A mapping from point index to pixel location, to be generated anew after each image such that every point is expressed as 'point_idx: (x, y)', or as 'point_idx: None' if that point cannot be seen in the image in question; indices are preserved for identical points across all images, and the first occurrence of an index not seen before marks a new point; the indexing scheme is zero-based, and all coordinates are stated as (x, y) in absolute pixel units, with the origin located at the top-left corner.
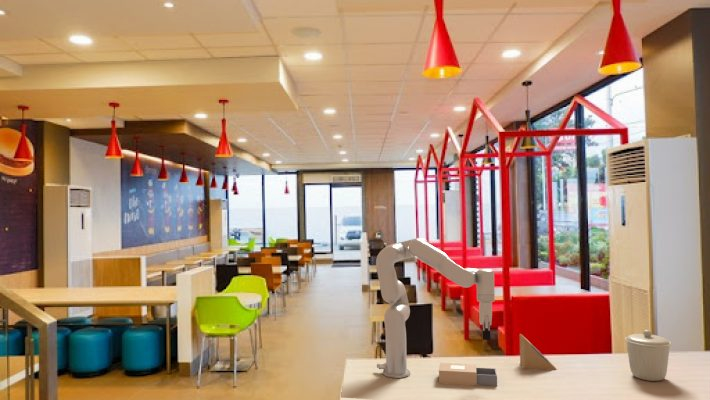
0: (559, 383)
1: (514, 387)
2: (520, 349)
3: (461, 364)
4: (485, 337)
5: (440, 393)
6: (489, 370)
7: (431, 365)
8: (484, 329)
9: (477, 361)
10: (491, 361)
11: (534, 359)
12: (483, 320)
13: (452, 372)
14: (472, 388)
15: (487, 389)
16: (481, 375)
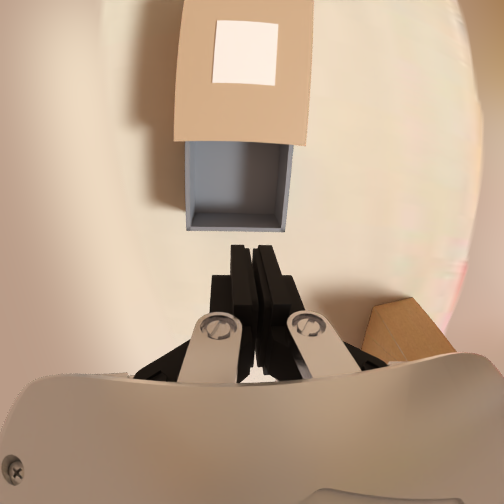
0: (257, 368)
1: (201, 269)
2: (430, 326)
3: (300, 73)
4: (212, 282)
5: (101, 25)
6: (281, 202)
7: (407, 15)
8: (196, 344)
9: (450, 179)
10: (445, 223)
11: (378, 347)
12: (21, 470)
13: (180, 32)
14: (161, 121)
15: (160, 177)
16: (185, 162)
